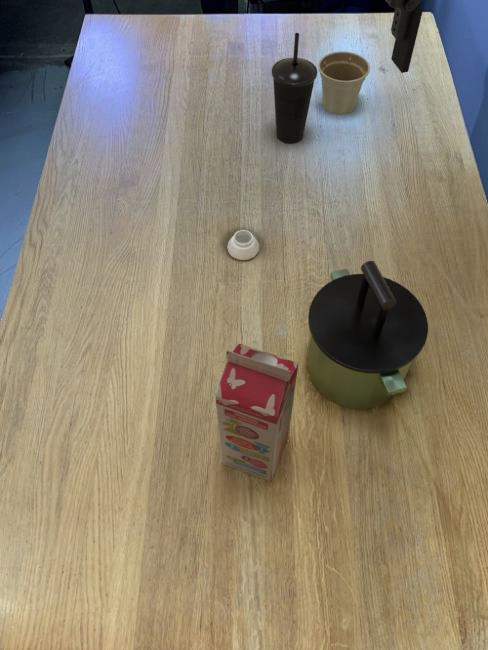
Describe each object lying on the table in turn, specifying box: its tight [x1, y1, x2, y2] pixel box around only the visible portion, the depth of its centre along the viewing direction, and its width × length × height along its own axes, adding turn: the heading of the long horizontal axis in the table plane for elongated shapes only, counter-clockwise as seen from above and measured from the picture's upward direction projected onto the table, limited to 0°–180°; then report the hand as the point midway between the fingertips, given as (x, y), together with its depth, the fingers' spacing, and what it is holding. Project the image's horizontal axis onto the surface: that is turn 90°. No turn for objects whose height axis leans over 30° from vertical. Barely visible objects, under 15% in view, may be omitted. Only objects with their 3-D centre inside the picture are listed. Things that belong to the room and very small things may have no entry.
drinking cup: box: [271, 32, 318, 145], centre depth 103 cm, size 8×8×20 cm
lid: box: [307, 260, 429, 374], centre depth 72 cm, size 15×15×9 cm
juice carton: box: [214, 343, 299, 483], centre depth 68 cm, size 7×7×22 cm
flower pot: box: [317, 50, 371, 115], centre depth 113 cm, size 9×9×9 cm
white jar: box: [226, 229, 260, 261], centre depth 95 cm, size 5×3×5 cm
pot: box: [305, 268, 413, 410], centre depth 80 cm, size 14×19×10 cm
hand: (456, 55), depth 66 cm, fingers open, 13 cm apart
